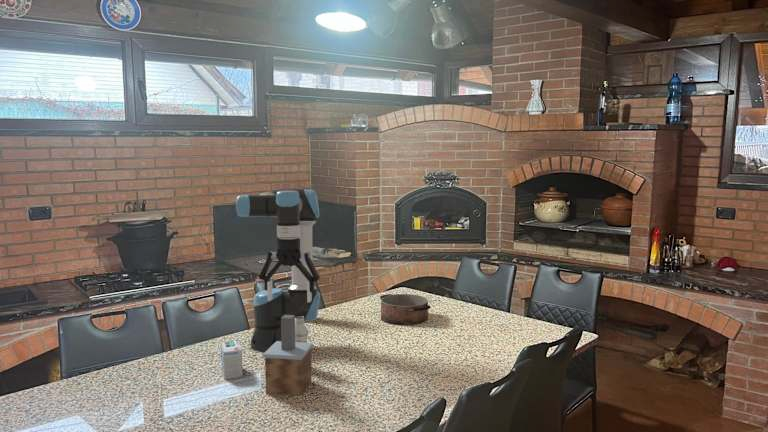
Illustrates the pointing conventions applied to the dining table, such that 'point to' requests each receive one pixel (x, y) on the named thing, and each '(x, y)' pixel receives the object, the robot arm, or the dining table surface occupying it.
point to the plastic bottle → (300, 330)
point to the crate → (288, 375)
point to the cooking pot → (404, 309)
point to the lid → (288, 342)
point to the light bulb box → (231, 360)
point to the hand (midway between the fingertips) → (289, 300)
